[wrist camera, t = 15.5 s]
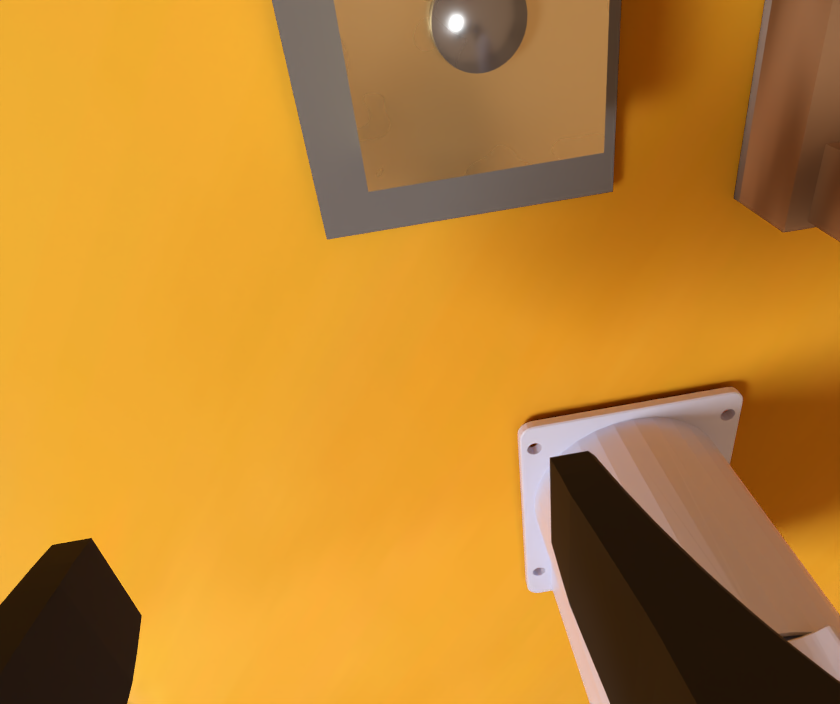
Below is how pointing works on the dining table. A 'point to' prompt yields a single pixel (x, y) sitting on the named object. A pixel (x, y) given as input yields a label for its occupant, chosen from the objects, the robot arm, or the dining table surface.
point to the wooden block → (473, 84)
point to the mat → (425, 202)
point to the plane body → (794, 119)
